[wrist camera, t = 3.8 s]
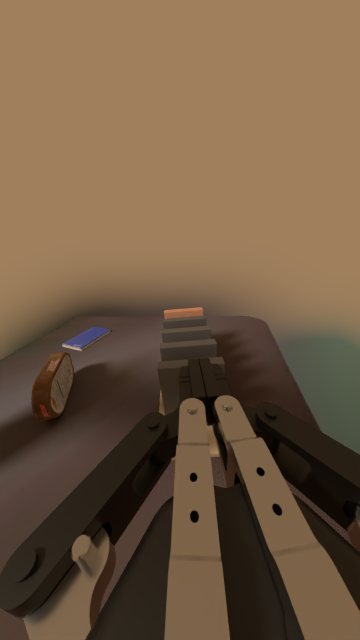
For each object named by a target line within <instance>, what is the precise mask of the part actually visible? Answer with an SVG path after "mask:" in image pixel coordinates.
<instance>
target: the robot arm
mask: <svg viewBox="0 0 360 640" xmlns="http://www.w3.org/2000/svg"><path fill="white" fill-rule="evenodd" d="M178 372H179V395H180V403H179V406H178V407H177V409H176V410H174V411H173V412H171V413H169V414H167V415H163V414H161V413H159V412H153V413H150V414H148V415H146V416H145V417H144V418H143V419H142V420H141V421H140V422H139V423H138V424H137V425H136V426H135V427H134V428H133V429H132V430H131V431H130V432H129V433H128V434H127V435H126V437H125V438H124V439H123V440H122V441H121V442H120V443H119V444H118V445H117V446H116V447H115V448H114V449H113V450H112V451H111V452H110V453H109V454H108V455H107V456H106V457H105V458H104V459H103V460H102V461H101V462H100V463H99V464H98V466H97V467H96V468H95V469H94V470H93V471H92V472H91V473H90V474H89V475H88V476H87V477H86V478H85V479H84V480H83V481H82V482H81V483H80V484H79V485H78V486H77V487H76V488H75V489H74V490H73V491H72V492H71V494H70V495H69V496H68V497H67V498H66V499H65V500H64V501H63V502H62V503H61V504H60V505H59V506H58V507H57V508H56V509H55V510H54V511H53V512H52V513H51V514H50V515H49V516H48V517H47V518H46V519H45V520H44V521H43V523H42V524H41V525H40V526H39V527H38V528H37V529H36V530H35V531H34V532H33V533H32V534H31V535H30V536H29V537H28V538H27V539H26V540H25V541H24V542H23V543H22V544H21V545H20V546H19V547H18V549H17V550H16V551H15V552H14V553H13V555H12V556H11V557H10V559H9V560H8V562H7V563H6V565H5V567H4V569H3V571H2V573H1V575H0V608H1V609H3V610H5V611H7V612H8V613H10V614H12V615H14V616H15V617H17V618H19V619H21V620H22V621H24V622H25V626H26V629H27V632H28V635H29V639H30V640H360V455H359V454H357V453H355V452H354V451H352V450H350V449H349V448H347V447H345V446H344V445H342V444H340V443H339V442H337V441H335V440H334V439H332V438H330V437H329V436H327V435H325V434H324V433H322V432H320V431H319V430H317V429H315V428H314V427H312V426H310V425H308V424H307V423H305V422H303V421H302V420H300V419H298V418H297V417H295V416H293V415H292V414H290V413H288V412H287V411H285V410H283V409H282V408H280V407H278V406H276V405H274V404H272V403H261V404H259V405H258V406H257V408H256V409H255V408H250V407H245V406H243V405H240V403H239V402H238V400H237V399H235V398H234V397H232V394H231V391H230V389H229V386H228V383H227V381H226V378H225V375H224V373H223V370H222V368H221V367H220V366H219V365H218V364H217V363H216V364H211V362H210V359H209V357H201V358H188V366H181V368H180V370H179V371H178ZM207 424H208V426H209V425H212V428H213V432H214V438H215V442H216V445H217V449H218V452H219V456H220V459H221V463H222V466H223V470H224V473H225V478H226V485H227V488H222V487H218V486H214V485H213V476H212V466H211V457H210V447H209V443H208V434H207ZM174 457H176V463H175V482H174V496H172V497H171V498H170V499H168V500H167V501H166V502H165V503H164V504H163V505H162V506H161V508H160V509H159V510H158V512H157V513H156V515H155V516H154V518H153V520H152V522H151V523H150V525H149V527H148V529H147V530H146V532H145V534H144V536H143V538H142V539H141V541H140V543H139V545H138V546H137V548H136V550H135V552H134V554H133V555H132V557H131V559H130V561H129V562H128V564H127V566H126V568H125V569H124V571H123V573H122V575H121V577H120V578H119V580H118V582H117V584H116V585H115V587H114V589H113V591H112V593H111V594H110V596H109V598H108V600H107V601H106V603H105V605H104V607H103V608H102V610H101V612H100V606H101V602H102V598H103V595H104V593H105V590H106V588H107V586H108V584H109V582H110V580H111V578H112V575H113V572H114V568H115V562H116V553H115V548H114V545H115V544H116V543H117V541H118V540H119V538H120V537H121V535H122V534H123V532H124V531H125V529H126V528H127V526H128V525H129V523H130V522H131V520H132V519H133V517H134V516H135V514H136V513H137V511H138V510H139V508H140V507H141V505H142V504H143V502H144V501H145V499H146V498H147V496H148V495H149V493H150V492H151V490H152V489H153V487H154V486H155V484H156V483H157V481H158V480H159V479H160V477H161V476H162V474H163V473H164V471H165V470H166V468H167V467H168V465H169V464H170V462H171V458H174ZM283 477H284V478H285V479H286V480H287V481H288V482H290V483H291V484H292V485H293V486H294V487H295V488H297V489H298V490H299V491H300V492H301V493H303V494H304V495H305V496H306V497H307V498H308V499H310V500H311V501H312V502H313V503H314V504H316V505H317V506H318V507H319V508H320V509H321V510H323V511H324V512H325V513H326V514H327V515H329V516H330V517H331V518H332V519H333V520H334V521H336V522H337V523H338V524H339V525H340V526H342V527H343V528H344V529H345V530H346V531H347V532H348V535H349V537H350V540H351V542H352V544H353V545H354V547H355V548H354V547H353V546H352V545H351V544H350V543H349V542H347V541H346V540H345V539H344V538H343V537H342V536H341V535H340V534H339V533H338V532H336V531H335V530H334V529H333V528H332V527H331V526H330V525H329V524H328V523H327V522H325V521H324V520H323V519H322V518H321V517H320V516H319V515H318V514H317V513H316V512H315V511H313V510H312V509H311V508H310V507H309V506H308V505H307V504H306V503H305V502H303V501H302V500H301V499H300V498H298V497H297V496H296V495H294V494H292V493H291V491H290V489H289V487H288V485H287V484H286V482H285V480H284V478H283ZM99 612H100V614H99Z"/></svg>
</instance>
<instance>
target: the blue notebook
mask: <svg viewBox="0 0 360 640" xmlns="http://www.w3.org/2000/svg"><path fill="white" fill-rule="evenodd" d="M110 332H111V331H110V329H105V328H98V327H92V328H91V329H89V330H87V331H85V332H83V333H82V334H80V335H78V336H76V337H74V338H73V339H71V340H69V341H67V342H65V343H63V344H62V345H63V347H67V348H71V349H75V350H80V351H82V350H84V349H85V348H87V347H88V346H90V345H91V344H93V343H94V342H96V341H97V340H99V339H100V338H102V337H104V336H105V335H107V334H108V333H110Z"/></svg>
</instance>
